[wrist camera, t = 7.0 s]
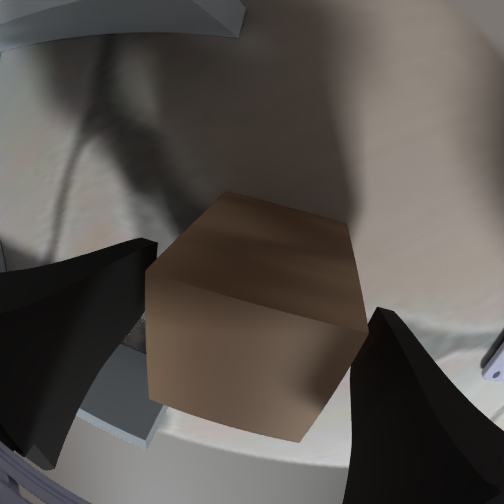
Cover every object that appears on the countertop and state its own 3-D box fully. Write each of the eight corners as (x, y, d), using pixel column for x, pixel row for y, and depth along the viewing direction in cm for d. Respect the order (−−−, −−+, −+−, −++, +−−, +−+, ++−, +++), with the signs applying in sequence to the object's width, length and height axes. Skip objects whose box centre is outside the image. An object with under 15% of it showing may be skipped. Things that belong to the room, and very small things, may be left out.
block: (346, 223, 11) (369, 333, 6) (311, 320, 13) (299, 442, 8) (226, 191, 11) (145, 270, 6) (209, 291, 13) (149, 398, 8)
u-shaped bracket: (246, 8, 8) (193, -55, 4) (181, 380, 16) (146, 450, 12) (-5, 35, 9) (-71, 40, 5) (3, 293, 18) (-39, 329, 13)
